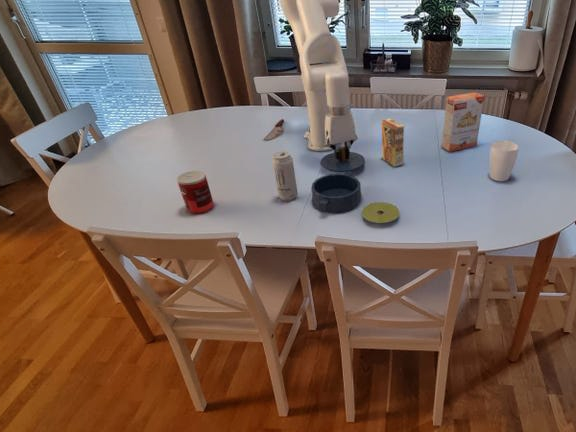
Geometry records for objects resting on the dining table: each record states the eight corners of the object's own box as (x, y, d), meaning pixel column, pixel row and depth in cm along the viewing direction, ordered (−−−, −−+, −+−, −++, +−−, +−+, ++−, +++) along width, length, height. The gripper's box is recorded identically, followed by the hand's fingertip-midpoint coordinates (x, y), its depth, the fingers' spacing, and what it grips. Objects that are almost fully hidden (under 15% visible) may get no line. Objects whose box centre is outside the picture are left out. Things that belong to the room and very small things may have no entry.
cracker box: (449, 153, 155) (455, 100, 143) (441, 147, 160) (445, 96, 148) (477, 146, 160) (485, 95, 149) (468, 141, 165) (475, 91, 153)
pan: (300, 212, 120) (298, 197, 117) (329, 181, 136) (327, 167, 133) (346, 221, 116) (345, 205, 113) (370, 188, 132) (370, 173, 129)
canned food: (191, 201, 125) (181, 171, 119) (217, 200, 126) (208, 170, 119) (183, 215, 119) (172, 183, 113) (210, 213, 119) (201, 182, 113)
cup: (513, 173, 141) (519, 142, 134) (511, 185, 134) (518, 152, 127) (487, 169, 143) (492, 138, 137) (484, 180, 136) (489, 149, 130)
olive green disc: (368, 204, 124) (368, 199, 123) (403, 210, 121) (403, 204, 120) (356, 224, 115) (356, 218, 114) (393, 230, 112) (393, 225, 111)
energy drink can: (275, 199, 126) (267, 157, 118) (286, 190, 131) (279, 149, 122) (291, 203, 124) (284, 160, 116) (301, 194, 129) (295, 152, 120)
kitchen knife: (273, 139, 165) (262, 137, 165) (273, 143, 166) (262, 140, 166) (291, 120, 182) (281, 118, 182) (291, 123, 183) (281, 121, 183)
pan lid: (312, 170, 139) (310, 154, 136) (331, 152, 152) (330, 136, 149) (355, 176, 135) (354, 160, 131) (371, 157, 148) (370, 141, 144)
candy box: (403, 164, 147) (404, 125, 138) (394, 167, 145) (395, 128, 136) (390, 156, 153) (390, 118, 144) (381, 158, 151) (381, 120, 142)
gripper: (354, 102, 139) (357, 150, 149) (312, 110, 132) (317, 160, 142) (365, 108, 133) (366, 157, 143) (321, 117, 126) (326, 168, 136)
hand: (342, 158), depth 143 cm, fingers closed on pan lid, 2 cm apart
